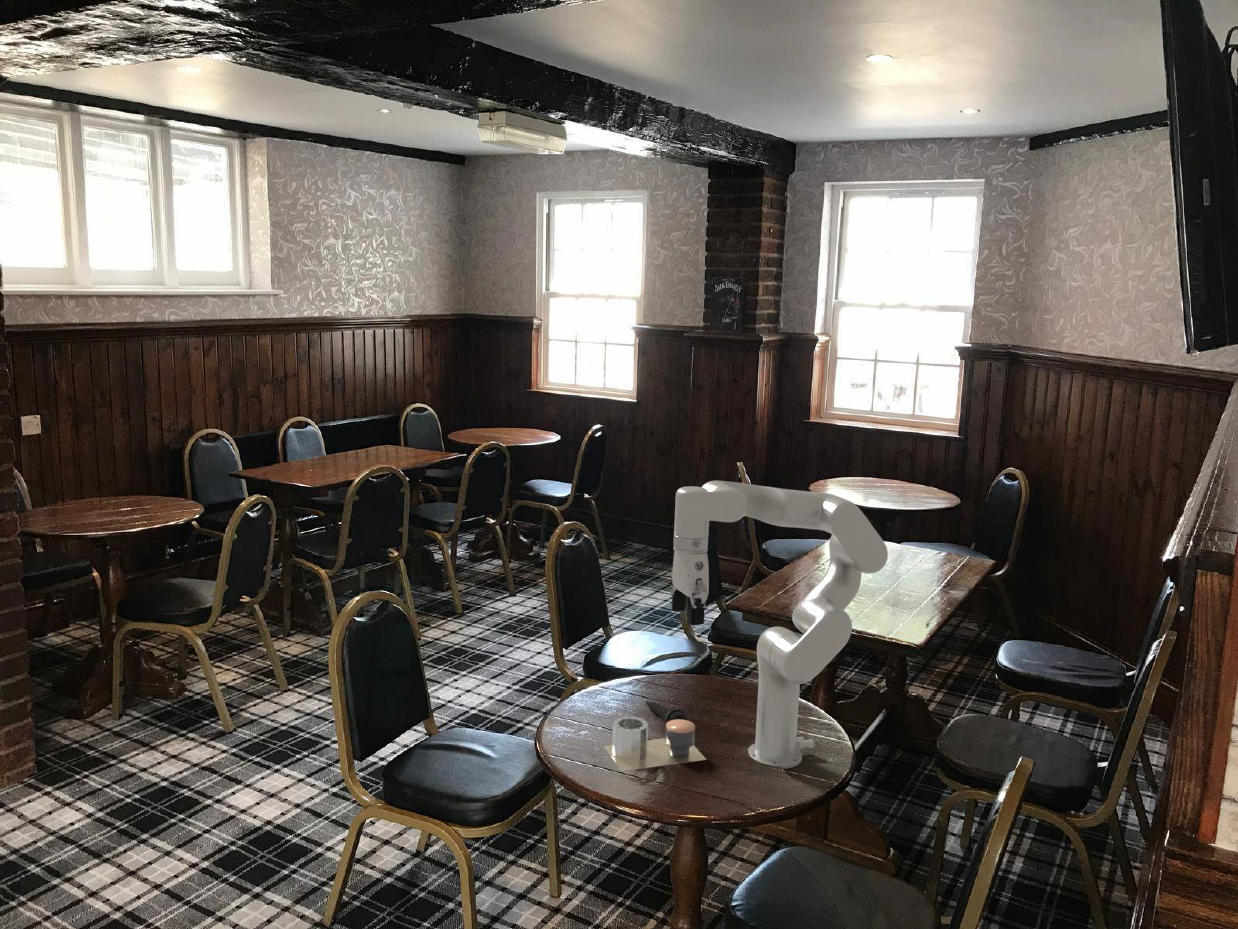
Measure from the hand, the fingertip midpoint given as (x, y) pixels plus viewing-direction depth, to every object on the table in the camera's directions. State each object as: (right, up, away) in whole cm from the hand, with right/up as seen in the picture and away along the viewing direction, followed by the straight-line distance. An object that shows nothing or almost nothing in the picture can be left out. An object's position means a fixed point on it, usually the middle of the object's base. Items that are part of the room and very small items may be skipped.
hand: (687, 617), depth 220 cm
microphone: (-3, -32, +34) cm, 46 cm away
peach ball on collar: (-1, -34, +12) cm, 36 cm away
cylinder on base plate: (-7, -35, +13) cm, 38 cm away
